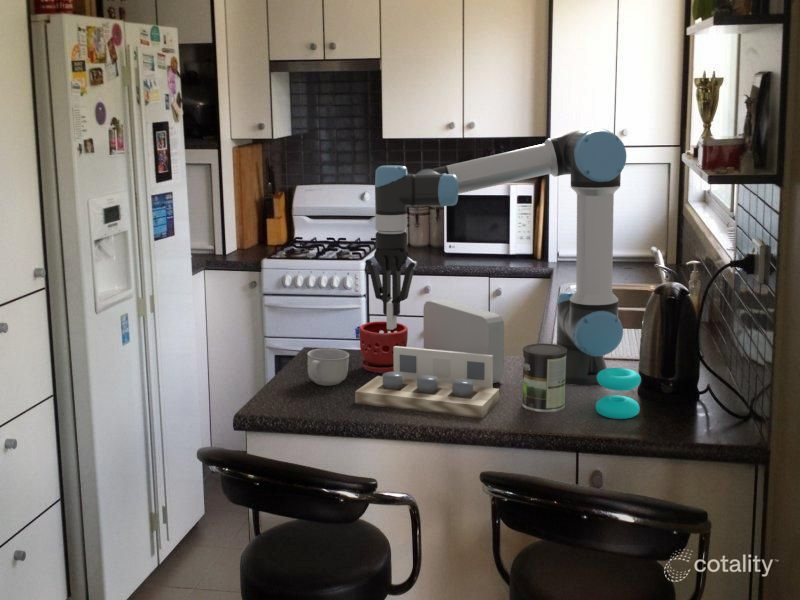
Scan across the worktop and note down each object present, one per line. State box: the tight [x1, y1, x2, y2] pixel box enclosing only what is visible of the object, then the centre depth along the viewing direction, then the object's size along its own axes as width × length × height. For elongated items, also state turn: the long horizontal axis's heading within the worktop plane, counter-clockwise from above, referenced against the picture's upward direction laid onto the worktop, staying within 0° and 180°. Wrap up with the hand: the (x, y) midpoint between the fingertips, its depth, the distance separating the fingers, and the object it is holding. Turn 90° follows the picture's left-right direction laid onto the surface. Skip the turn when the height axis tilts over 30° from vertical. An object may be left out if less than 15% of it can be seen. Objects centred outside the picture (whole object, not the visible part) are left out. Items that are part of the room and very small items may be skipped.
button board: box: [354, 375, 500, 419], centre depth 234 cm, size 32×14×3 cm, turn 68°
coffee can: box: [521, 342, 567, 413], centre depth 229 cm, size 10×10×14 cm
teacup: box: [306, 348, 350, 387], centre depth 249 cm, size 14×11×8 cm
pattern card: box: [393, 346, 494, 388], centre depth 243 cm, size 26×5×10 cm, turn 68°
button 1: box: [382, 372, 403, 389], centre depth 237 cm, size 5×5×3 cm
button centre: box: [417, 375, 438, 393], centre depth 233 cm, size 5×5×3 cm
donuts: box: [595, 367, 642, 420], centre depth 224 cm, size 10×10×10 cm
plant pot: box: [358, 320, 409, 374], centre depth 261 cm, size 13×13×12 cm
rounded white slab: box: [422, 298, 505, 384], centre depth 257 cm, size 29×8×18 cm, turn 33°
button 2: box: [452, 379, 473, 397], centre depth 230 cm, size 5×5×3 cm
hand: (391, 328), depth 234 cm, fingers closed
